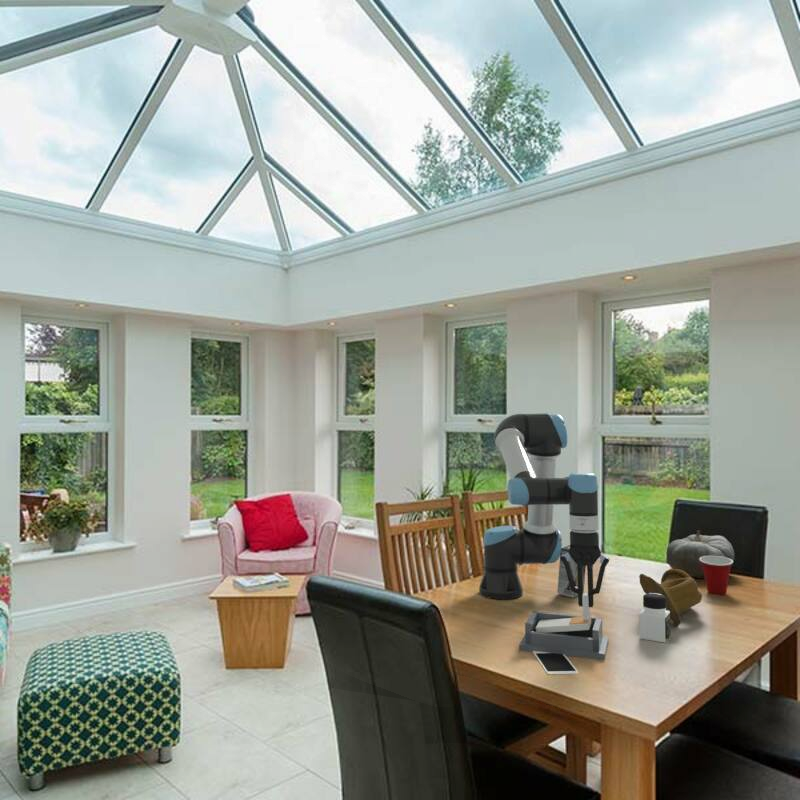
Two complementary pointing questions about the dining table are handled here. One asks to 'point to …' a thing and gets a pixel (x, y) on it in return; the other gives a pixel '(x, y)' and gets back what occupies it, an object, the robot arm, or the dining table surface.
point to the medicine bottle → (654, 619)
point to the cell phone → (555, 663)
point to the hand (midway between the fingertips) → (586, 618)
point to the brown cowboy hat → (674, 591)
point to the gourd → (697, 552)
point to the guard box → (565, 638)
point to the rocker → (563, 625)
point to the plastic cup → (716, 573)
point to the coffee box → (563, 579)
